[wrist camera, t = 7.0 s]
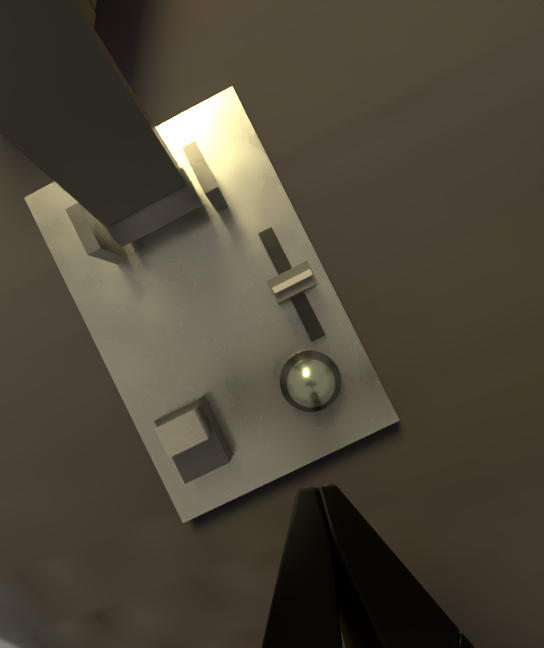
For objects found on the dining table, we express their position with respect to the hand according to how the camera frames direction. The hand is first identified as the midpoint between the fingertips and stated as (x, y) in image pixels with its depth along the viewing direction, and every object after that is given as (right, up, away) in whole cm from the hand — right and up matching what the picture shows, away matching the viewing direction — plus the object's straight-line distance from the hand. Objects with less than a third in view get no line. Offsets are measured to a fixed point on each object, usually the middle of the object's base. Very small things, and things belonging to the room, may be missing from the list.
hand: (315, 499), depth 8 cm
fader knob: (0, +6, +12) cm, 13 cm away
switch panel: (-4, +5, +13) cm, 15 cm away
